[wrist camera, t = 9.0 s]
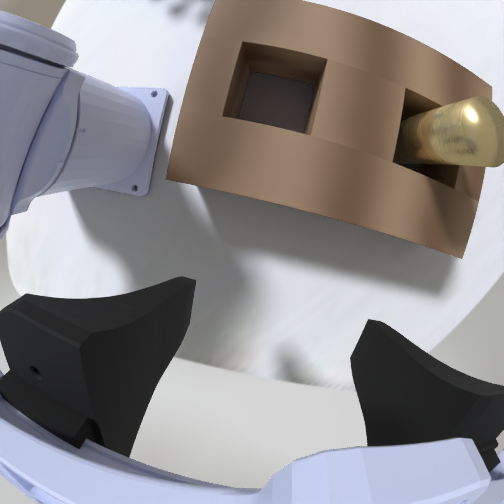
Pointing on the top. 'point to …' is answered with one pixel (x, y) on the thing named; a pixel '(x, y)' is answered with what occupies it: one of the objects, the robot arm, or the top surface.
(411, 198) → the hole block
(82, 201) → the top surface
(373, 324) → the robot arm
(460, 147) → the peg
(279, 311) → the top surface
